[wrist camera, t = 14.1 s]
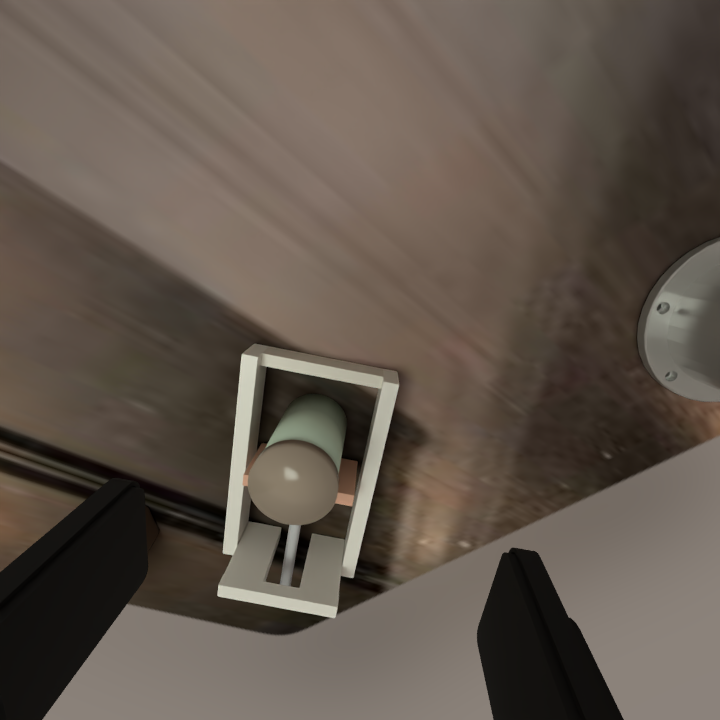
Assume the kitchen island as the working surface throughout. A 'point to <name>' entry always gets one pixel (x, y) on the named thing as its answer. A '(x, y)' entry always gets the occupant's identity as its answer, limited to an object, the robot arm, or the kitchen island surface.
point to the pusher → (343, 497)
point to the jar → (301, 462)
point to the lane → (260, 541)
